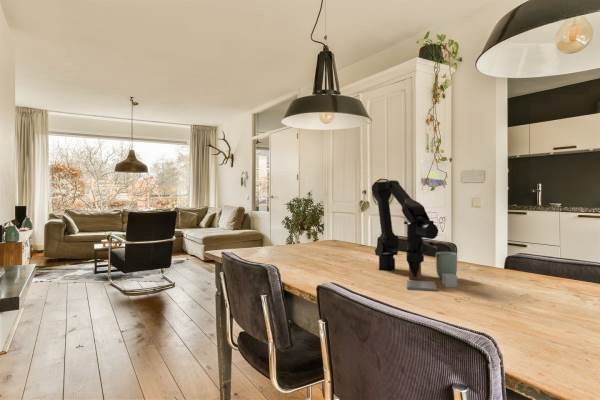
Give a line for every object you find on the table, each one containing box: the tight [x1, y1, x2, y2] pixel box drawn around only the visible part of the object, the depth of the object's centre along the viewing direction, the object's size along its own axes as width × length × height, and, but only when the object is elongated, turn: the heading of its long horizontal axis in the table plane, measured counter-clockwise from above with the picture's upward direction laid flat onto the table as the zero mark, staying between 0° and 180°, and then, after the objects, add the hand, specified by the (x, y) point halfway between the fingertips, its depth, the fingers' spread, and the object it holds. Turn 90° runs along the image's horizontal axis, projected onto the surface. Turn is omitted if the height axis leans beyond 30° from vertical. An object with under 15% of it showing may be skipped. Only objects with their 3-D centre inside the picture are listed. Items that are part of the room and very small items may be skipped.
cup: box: [435, 251, 458, 279], centre depth 144 cm, size 8×8×10 cm
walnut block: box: [408, 262, 422, 281], centre depth 145 cm, size 4×4×6 cm
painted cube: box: [441, 274, 458, 288], centre depth 133 cm, size 4×4×4 cm
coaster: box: [406, 279, 438, 292], centre depth 133 cm, size 10×10×1 cm
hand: (414, 275), depth 145 cm, fingers closed on walnut block, 4 cm apart
